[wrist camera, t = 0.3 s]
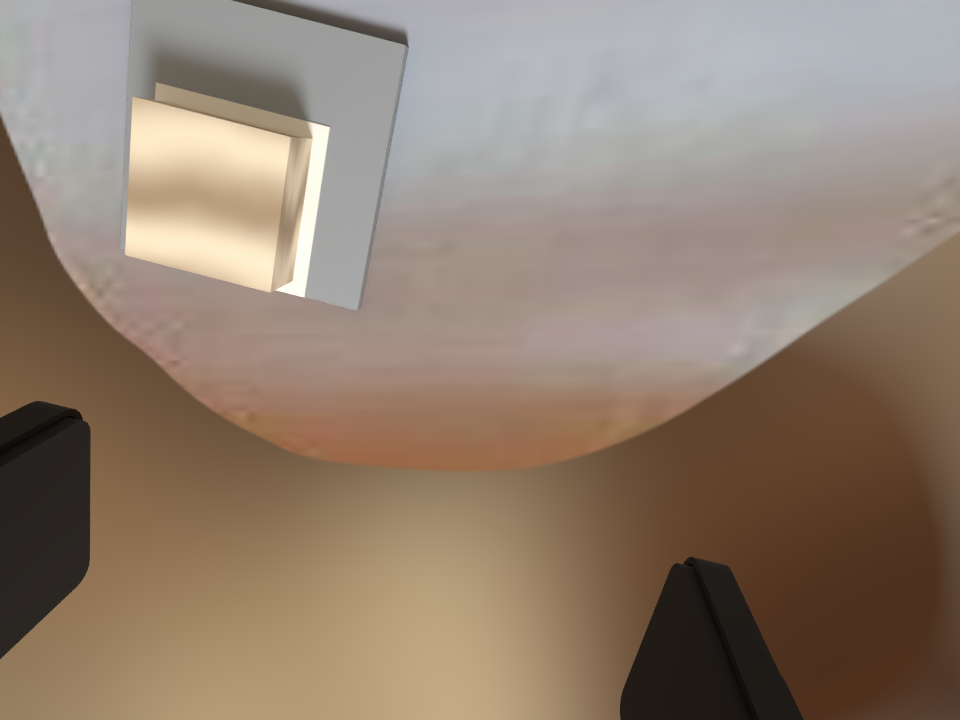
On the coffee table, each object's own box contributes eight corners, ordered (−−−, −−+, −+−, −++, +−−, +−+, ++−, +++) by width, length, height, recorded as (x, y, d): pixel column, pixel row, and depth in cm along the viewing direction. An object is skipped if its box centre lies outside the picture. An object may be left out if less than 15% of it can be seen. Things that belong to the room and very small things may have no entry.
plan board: (141, -22, 40) (131, -26, 39) (408, 47, 40) (405, 44, 39) (128, 247, 46) (119, 249, 45) (360, 307, 46) (357, 311, 45)
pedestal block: (169, 101, 41) (132, 96, 37) (312, 138, 41) (290, 137, 37) (159, 246, 45) (125, 254, 41) (292, 280, 45) (270, 292, 41)
